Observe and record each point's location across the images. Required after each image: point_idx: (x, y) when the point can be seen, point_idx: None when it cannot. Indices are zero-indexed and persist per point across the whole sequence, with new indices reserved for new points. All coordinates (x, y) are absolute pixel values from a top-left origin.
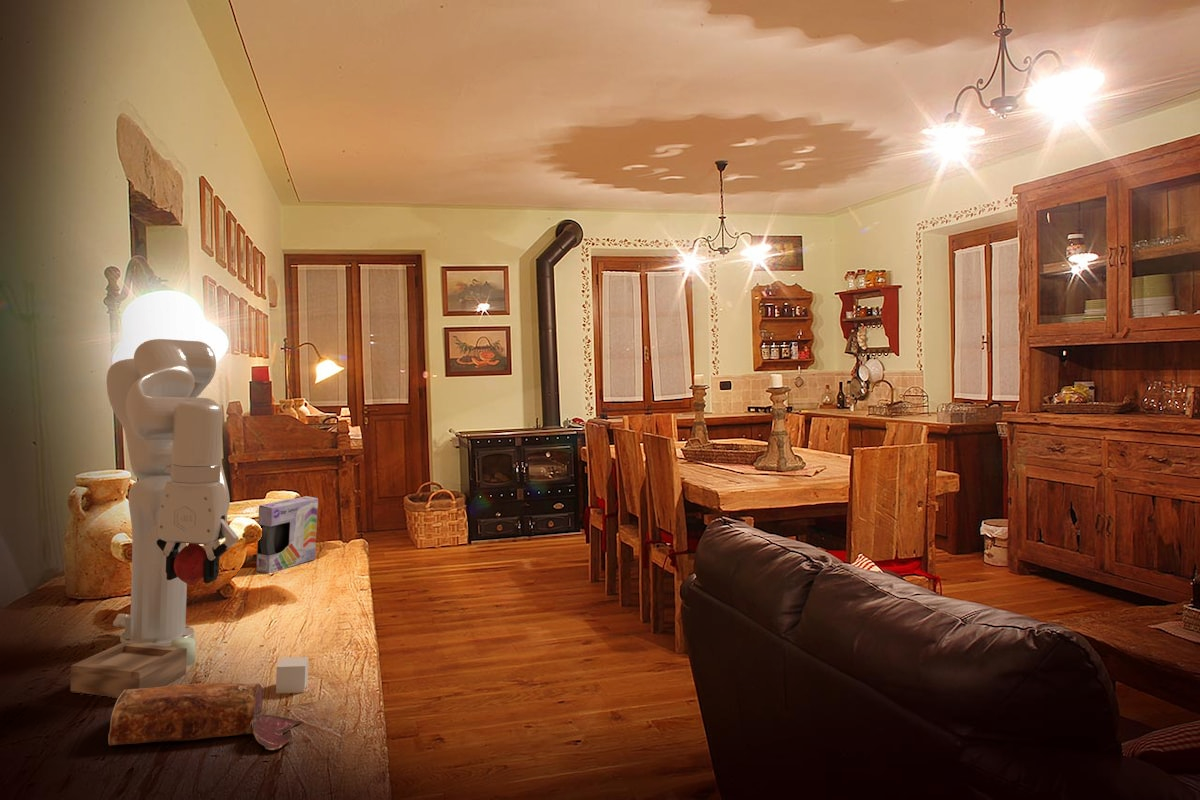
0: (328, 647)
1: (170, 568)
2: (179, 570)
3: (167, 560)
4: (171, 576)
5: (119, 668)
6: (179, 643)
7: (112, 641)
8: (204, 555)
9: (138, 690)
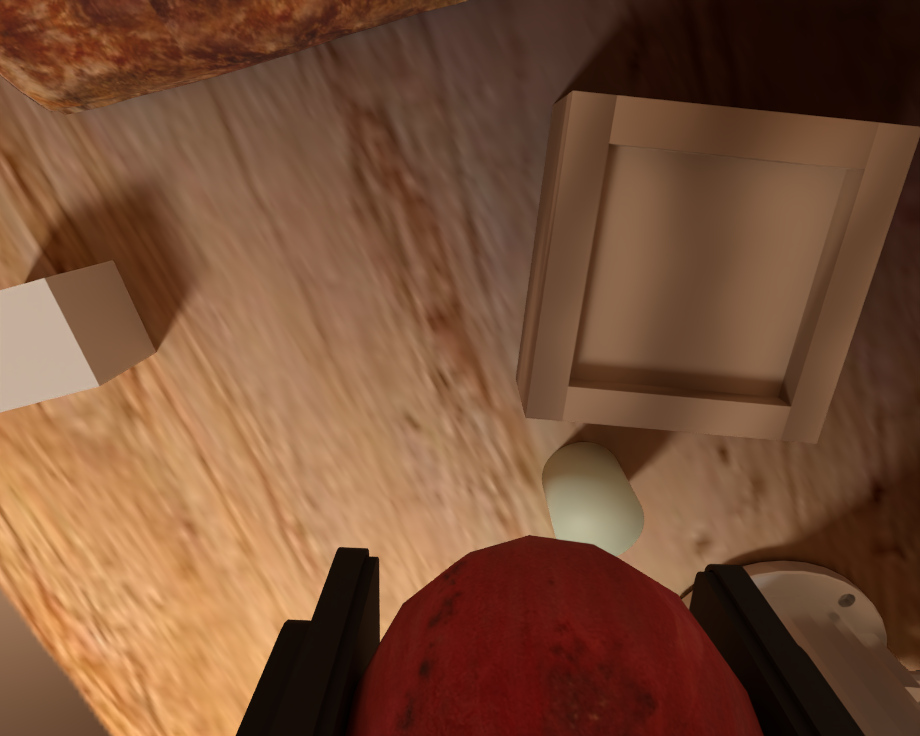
0: (191, 665)
1: (757, 648)
2: (607, 573)
3: (854, 730)
4: (708, 590)
5: (688, 127)
6: (599, 493)
7: (899, 613)
8: None
9: None
